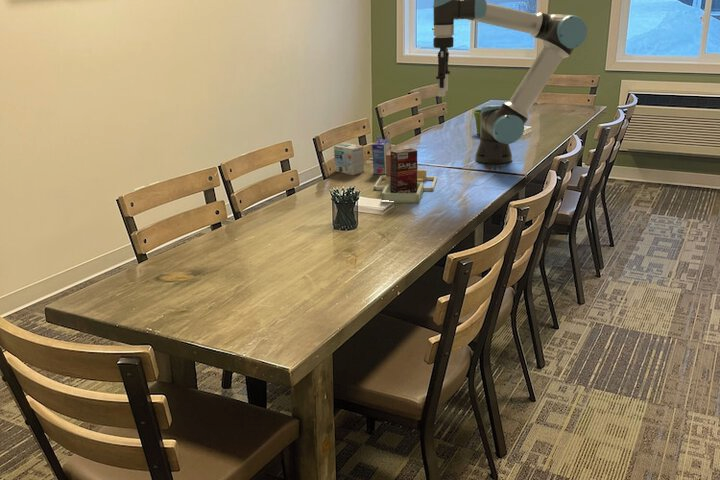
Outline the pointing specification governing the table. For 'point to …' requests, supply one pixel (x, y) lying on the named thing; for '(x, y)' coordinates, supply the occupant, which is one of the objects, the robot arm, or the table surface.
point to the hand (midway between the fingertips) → (443, 93)
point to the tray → (402, 195)
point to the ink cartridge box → (380, 155)
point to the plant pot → (478, 119)
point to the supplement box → (404, 171)
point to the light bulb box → (349, 158)
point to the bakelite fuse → (388, 164)
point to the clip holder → (420, 178)
